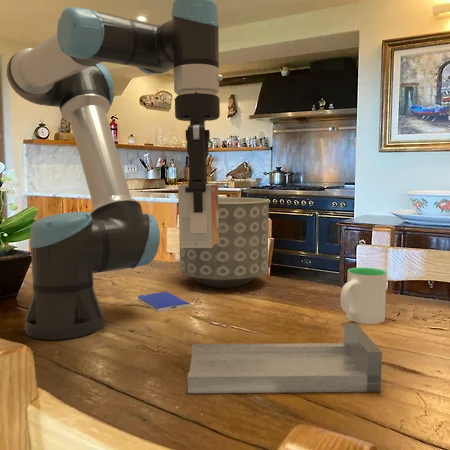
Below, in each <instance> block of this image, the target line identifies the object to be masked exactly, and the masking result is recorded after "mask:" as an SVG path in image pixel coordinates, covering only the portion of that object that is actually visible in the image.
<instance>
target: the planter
mask: <svg viewBox="0 0 450 450" xmlns="http://www.w3.org/2000/svg"><path fill="white" fill-rule="evenodd" d="M269 201H270V200H269V199H267V198H258V197H256V198H255V197H226V196H225V197H224V196H223V197H220V196H218V215H219V242H218V243H216V244H215V245H214V246H213V247H212V248H180V247H179V272H180V274H182V275H185V276H187V277H191V278H192V279H193V280H195V281H196V282H198V283H200V284H202V285H204V286H208V287H211V288H217V289H218V288H220V289H229V288H230V289H231V288H237V287H241V286H243V285H245V284H247V283H250V282H252V281H253V280H254V279H255V278H257V277H261V276H264V275H266V274H267V273H268V271H269V212H270V211H269V210H270V209H269V206H270V205H269ZM179 242H180V235H179Z"/></svg>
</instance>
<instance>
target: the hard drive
mask: <svg viewBox="0 0 450 450" xmlns="http://www.w3.org/2000/svg"><path fill="white" fill-rule="evenodd" d="M137 300H138V301H139V302H141V303H143V304H144V305H146V306H148V307H149V308H151V309H153V310H154V311H155V312H158V313H159V312H165V311H171V310H176V309H177V310H178V309H183V308H184V309H185V308H188V307H189V308H190V303H189V302H188V301H185V300H183V299H182V298H180V297H178V296H176V295H174V294H172V293H170V292H168V291H159V292H154V293H153V292H152V293H146V294H140V295H138V296H137Z"/></svg>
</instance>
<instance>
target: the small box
mask: <svg viewBox="0 0 450 450" xmlns="http://www.w3.org/2000/svg"><path fill="white" fill-rule="evenodd" d="M185 187H189V186H188V184H184V185H182V184H181V185H178V186H177V190H178V191H177V196H178V225H179V226H178V228H179V229H178V230H179V232H178V233H179V235H180V241H179V249H180V248H212V247H213V246H214V245H215V244H216V243H218V242H219V215H218V197H219V183H208V184H206V186H205V187H206V191H205V192H202V193H206V195H207V233H190V193H185Z"/></svg>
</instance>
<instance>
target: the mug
mask: <svg viewBox="0 0 450 450" xmlns="http://www.w3.org/2000/svg"><path fill="white" fill-rule="evenodd" d="M346 281H347V282H346V283H344V285H343V286H342V288H341V292H340V298H339V299H340V307H341V309H342V311H344V312H345V313H346V317H347V318H348V319H347V318H346V319H347V320H349V321H350V320H351V321H350V322H353V321H354V322H353V323H356V324H364V325H375V324H376V325H377V324H381V323H384V322H385V320H386V300H387V298H386V297H387V295H386V294H387V271H386V270H383V269H379V268H373V267H352V268H348V269H347V280H346Z"/></svg>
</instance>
